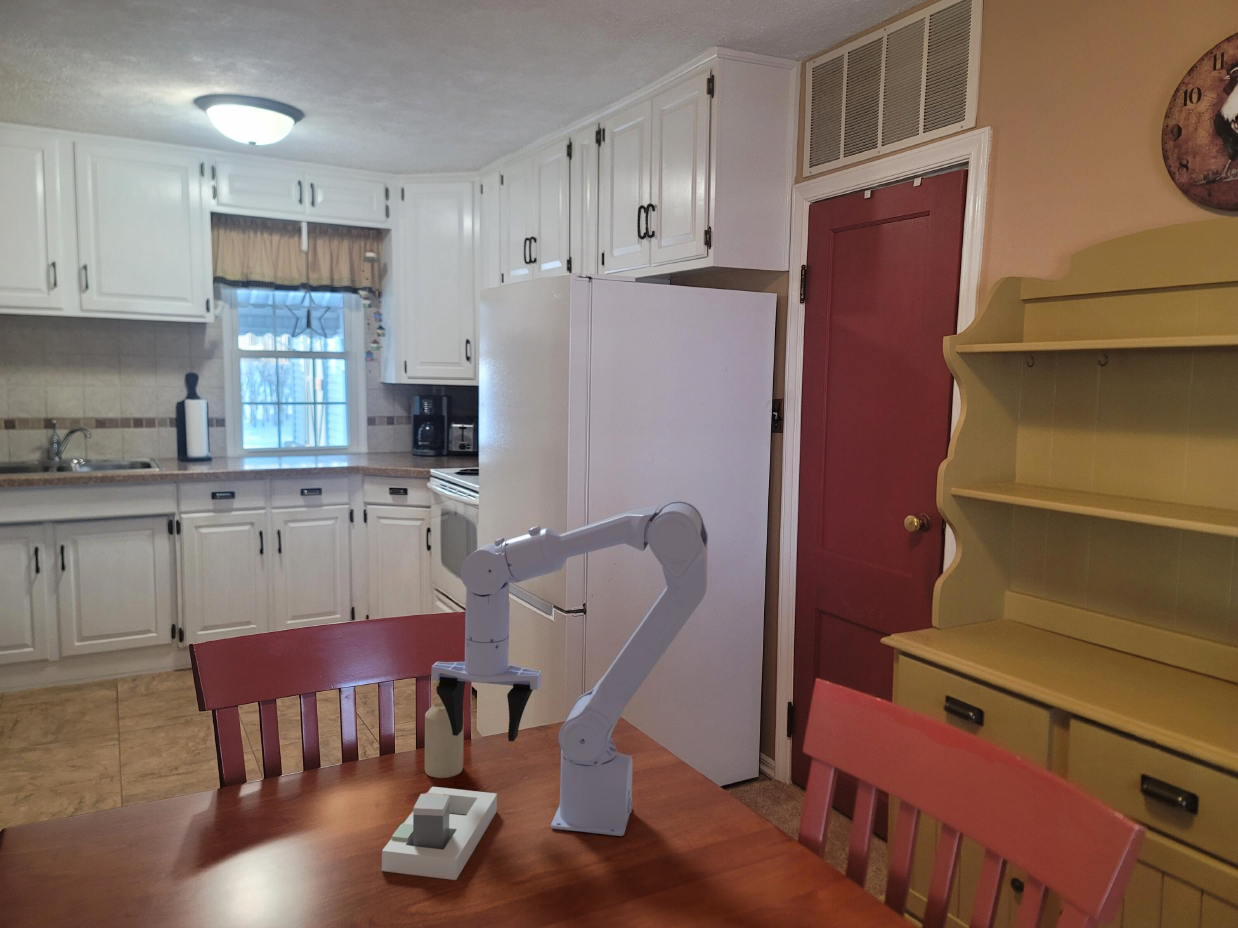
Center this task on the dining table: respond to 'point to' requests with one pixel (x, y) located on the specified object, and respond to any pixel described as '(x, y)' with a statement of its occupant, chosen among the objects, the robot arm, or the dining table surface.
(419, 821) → the plug
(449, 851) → the socket strip
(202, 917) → the dining table surface
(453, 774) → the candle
